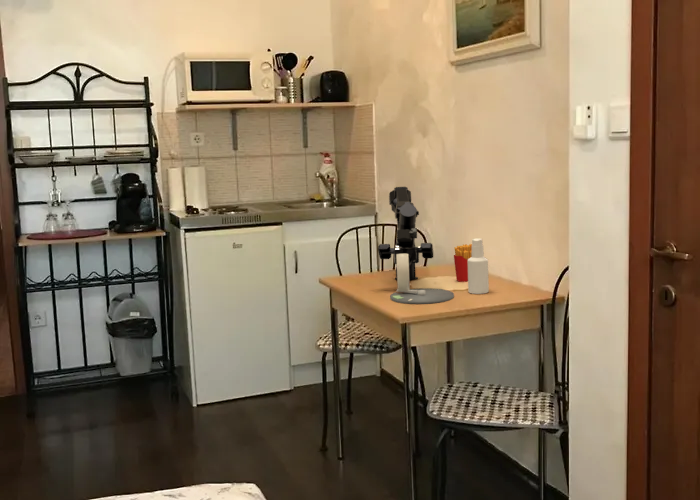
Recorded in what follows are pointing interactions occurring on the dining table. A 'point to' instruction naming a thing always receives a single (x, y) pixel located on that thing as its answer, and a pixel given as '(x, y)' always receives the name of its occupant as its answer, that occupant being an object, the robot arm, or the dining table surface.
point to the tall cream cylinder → (403, 274)
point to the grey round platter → (422, 296)
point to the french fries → (462, 261)
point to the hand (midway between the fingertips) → (404, 271)
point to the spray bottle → (478, 269)
